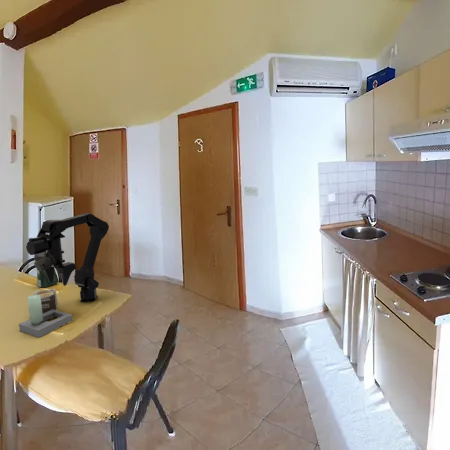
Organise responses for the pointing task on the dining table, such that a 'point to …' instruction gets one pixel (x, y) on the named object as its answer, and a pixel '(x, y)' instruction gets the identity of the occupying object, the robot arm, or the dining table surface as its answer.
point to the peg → (35, 309)
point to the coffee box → (47, 299)
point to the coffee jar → (41, 276)
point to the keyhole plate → (46, 323)
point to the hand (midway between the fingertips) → (58, 283)
